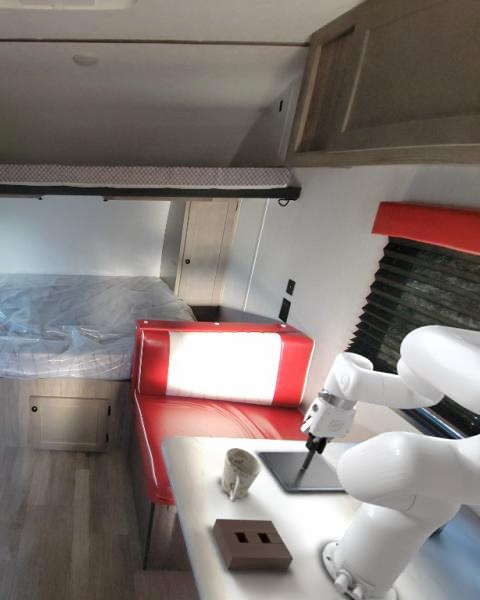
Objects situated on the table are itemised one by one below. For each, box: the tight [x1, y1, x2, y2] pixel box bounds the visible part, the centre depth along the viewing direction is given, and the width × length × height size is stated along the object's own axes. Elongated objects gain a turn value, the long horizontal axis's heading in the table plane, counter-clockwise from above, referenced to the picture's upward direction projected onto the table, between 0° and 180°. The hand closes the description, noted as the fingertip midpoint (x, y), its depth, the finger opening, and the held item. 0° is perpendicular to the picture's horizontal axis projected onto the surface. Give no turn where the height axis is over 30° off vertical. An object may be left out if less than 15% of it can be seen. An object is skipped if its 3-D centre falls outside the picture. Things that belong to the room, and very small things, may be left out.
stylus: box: [302, 437, 322, 470], centre depth 95 cm, size 1×1×13 cm
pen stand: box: [211, 518, 294, 571], centre depth 74 cm, size 8×13×4 cm, turn 92°
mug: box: [221, 447, 262, 503], centre depth 86 cm, size 8×13×10 cm, turn 152°
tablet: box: [258, 451, 347, 493], centre depth 97 cm, size 20×13×1 cm, turn 95°
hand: (313, 449), depth 95 cm, fingers closed on stylus, 1 cm apart
